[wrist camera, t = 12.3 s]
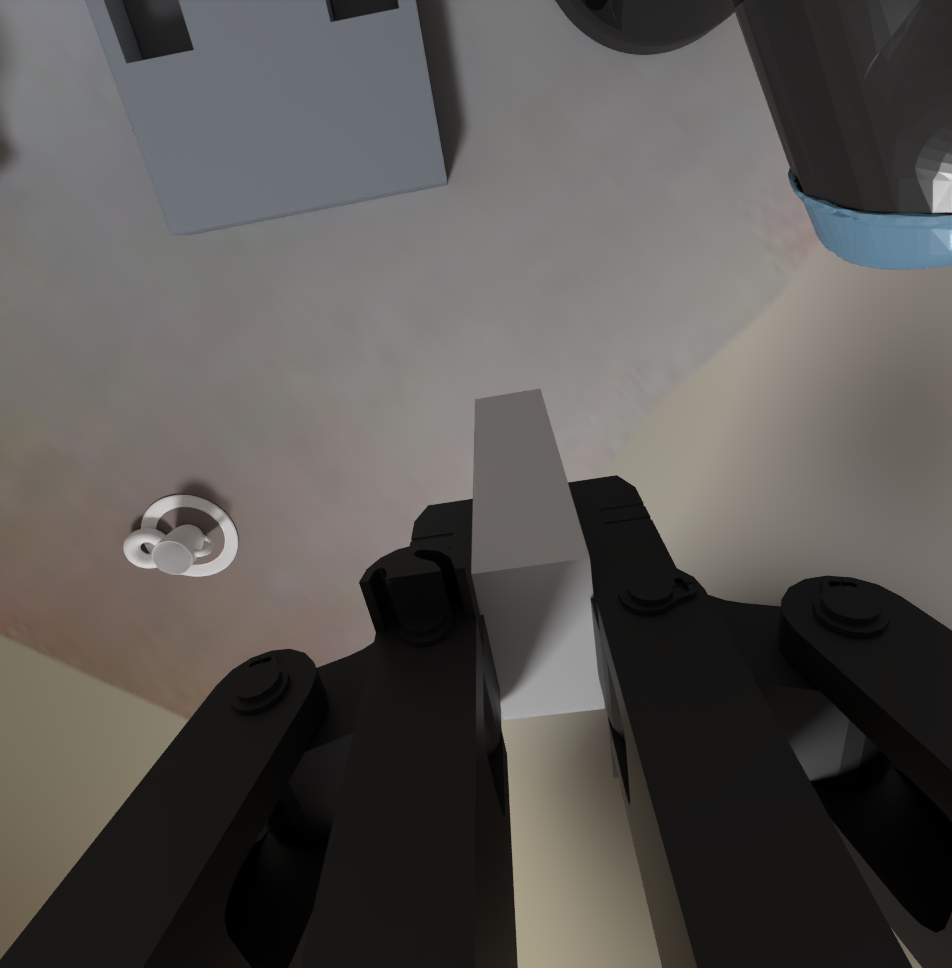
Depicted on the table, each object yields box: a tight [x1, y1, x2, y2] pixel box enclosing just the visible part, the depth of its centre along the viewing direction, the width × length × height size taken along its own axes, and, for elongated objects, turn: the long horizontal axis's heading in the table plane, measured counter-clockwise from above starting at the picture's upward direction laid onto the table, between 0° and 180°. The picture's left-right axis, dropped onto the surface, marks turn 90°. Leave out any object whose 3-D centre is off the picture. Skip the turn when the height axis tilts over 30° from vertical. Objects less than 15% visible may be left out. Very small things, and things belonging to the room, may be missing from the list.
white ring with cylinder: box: [124, 495, 238, 576], centre depth 47 cm, size 9×8×4 cm
